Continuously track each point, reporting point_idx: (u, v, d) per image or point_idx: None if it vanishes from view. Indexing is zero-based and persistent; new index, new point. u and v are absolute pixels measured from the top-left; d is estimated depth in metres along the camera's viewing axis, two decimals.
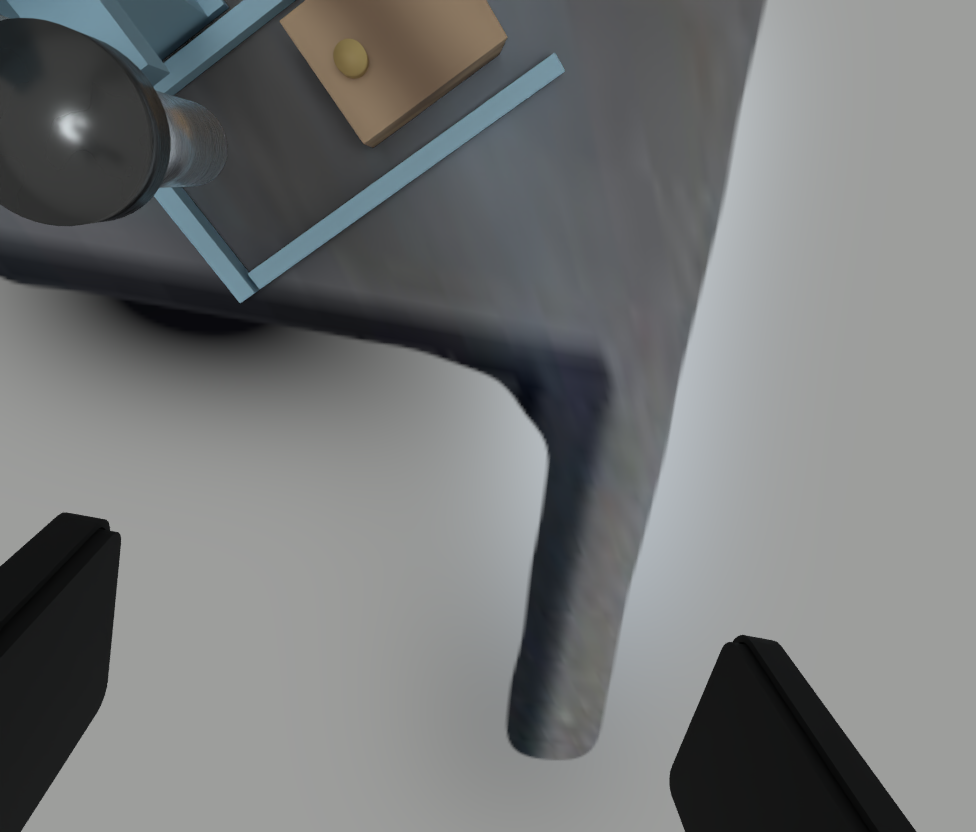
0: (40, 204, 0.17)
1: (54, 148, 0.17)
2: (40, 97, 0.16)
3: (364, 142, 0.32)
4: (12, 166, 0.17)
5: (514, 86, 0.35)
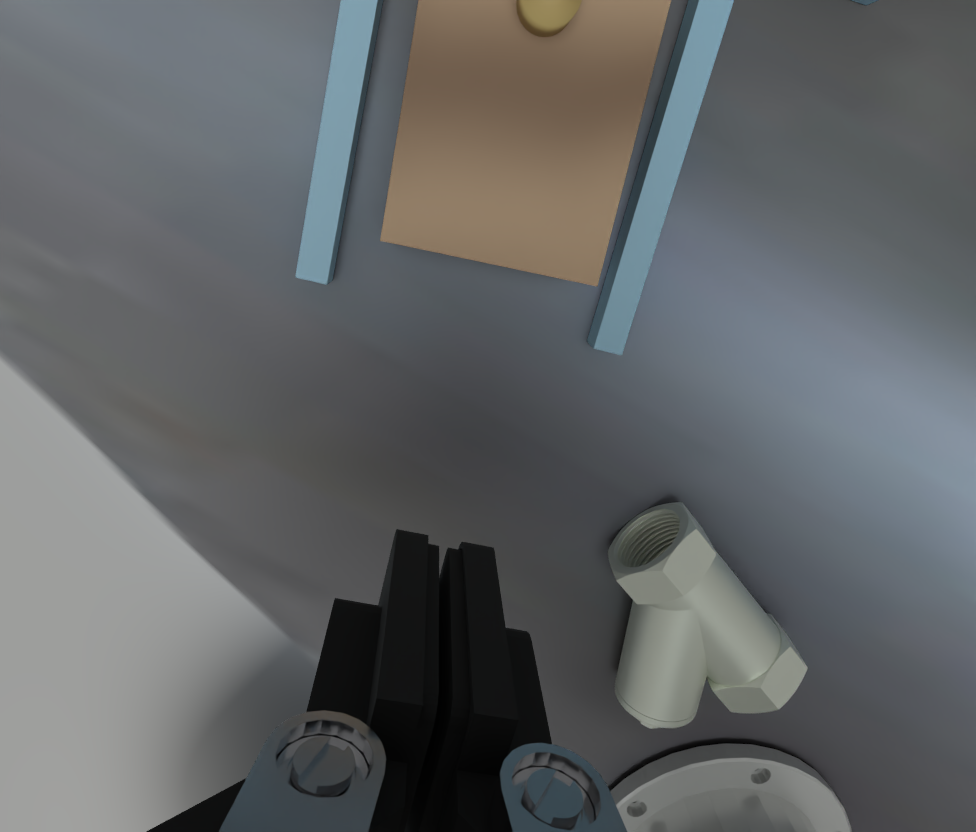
0: None
1: None
2: None
3: None
4: None
5: (334, 203, 0.21)
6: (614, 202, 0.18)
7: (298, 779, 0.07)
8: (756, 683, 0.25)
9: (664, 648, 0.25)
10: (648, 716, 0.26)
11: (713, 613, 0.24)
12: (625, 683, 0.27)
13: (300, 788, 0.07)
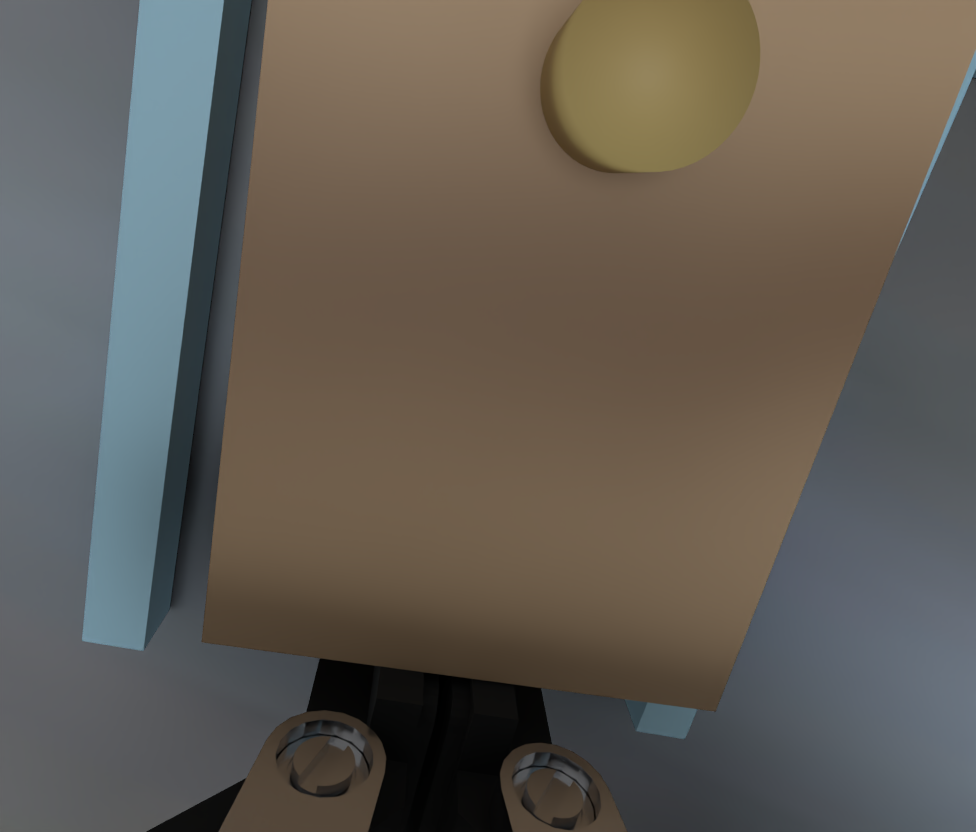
0: None
1: None
2: None
3: None
4: None
5: (147, 518, 0.11)
6: (769, 550, 0.08)
7: (298, 779, 0.07)
8: None
9: None
10: None
11: None
12: None
13: (300, 788, 0.07)
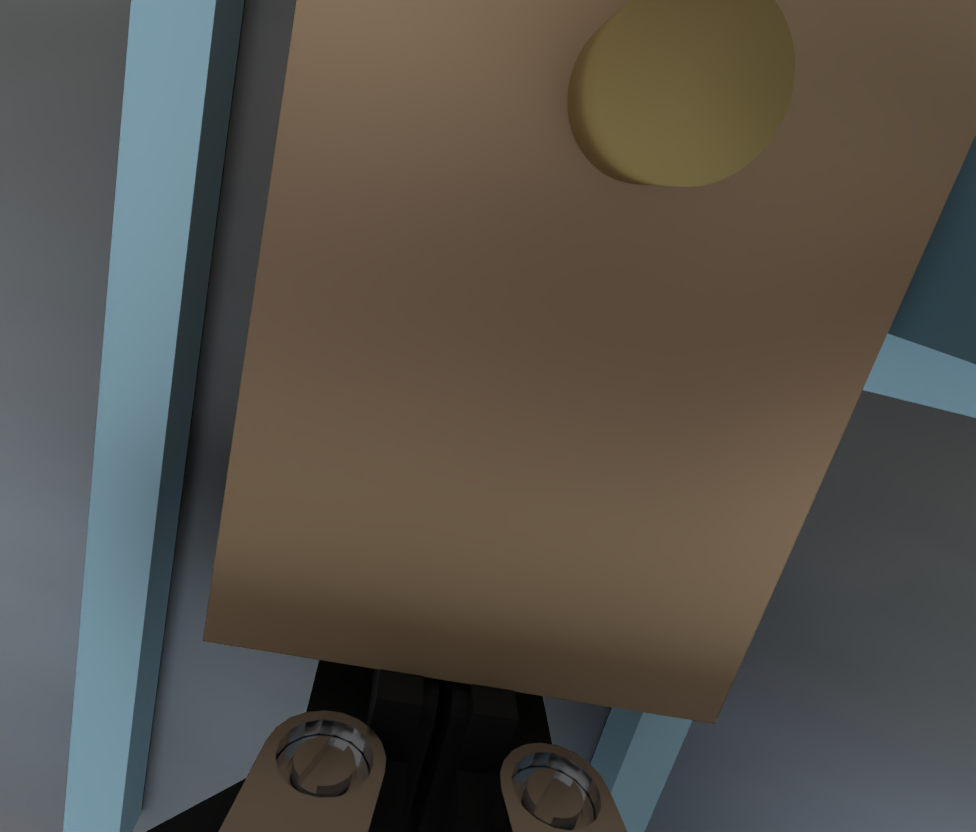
0: None
1: None
2: None
3: None
4: None
5: (116, 764, 0.12)
6: (775, 565, 0.08)
7: (298, 779, 0.07)
8: None
9: None
10: None
11: None
12: None
13: (300, 788, 0.07)
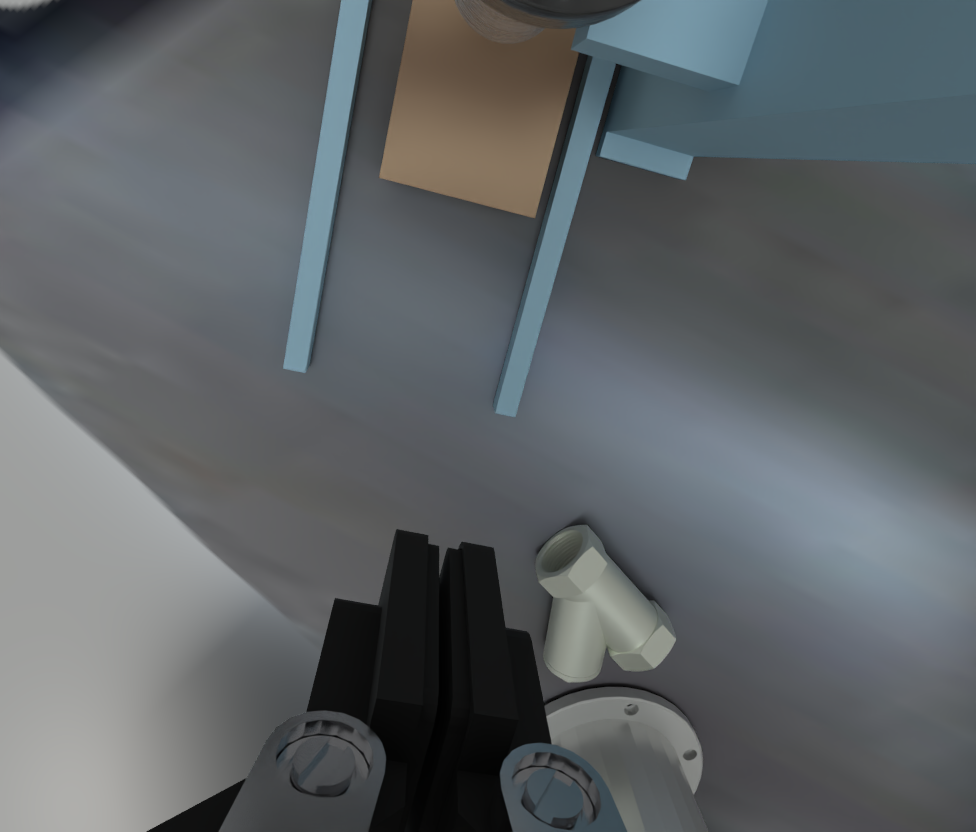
0: None
1: None
2: None
3: None
4: None
5: (310, 319, 0.31)
6: (547, 157, 0.25)
7: (298, 779, 0.07)
8: (637, 650, 0.36)
9: (573, 628, 0.36)
10: (564, 674, 0.37)
11: (605, 603, 0.35)
12: (549, 651, 0.37)
13: (300, 788, 0.07)
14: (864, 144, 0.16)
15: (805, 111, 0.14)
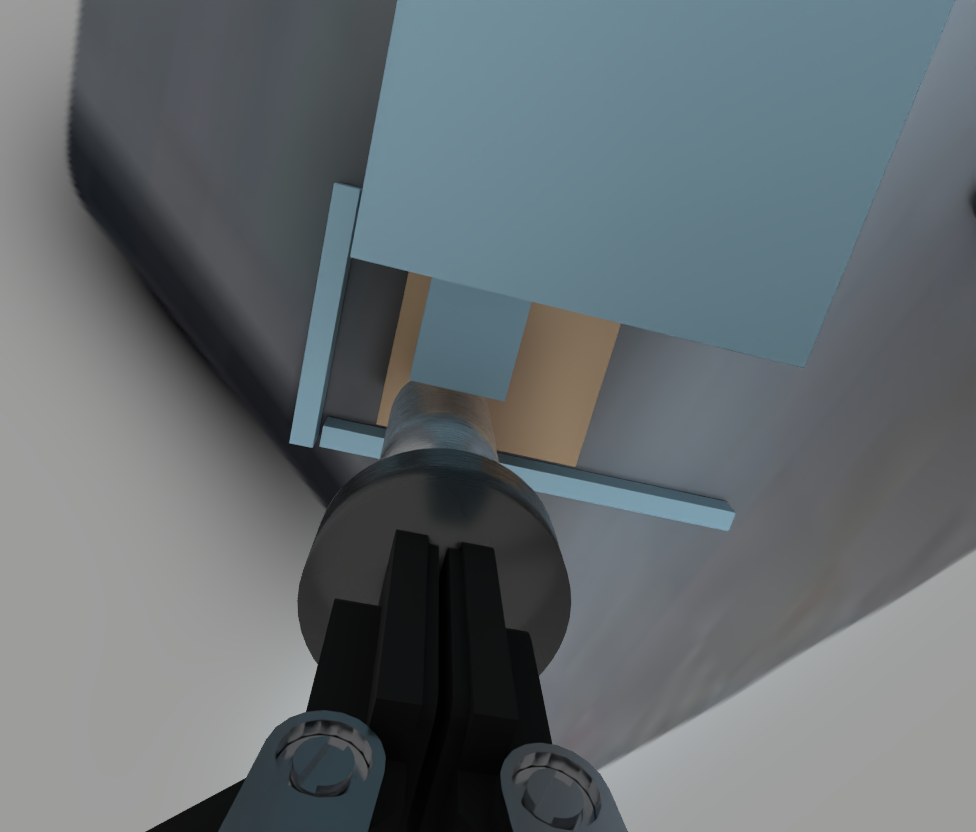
0: None
1: None
2: None
3: (378, 423, 0.26)
4: None
5: (684, 505, 0.32)
6: (563, 311, 0.25)
7: (298, 779, 0.06)
8: None
9: None
10: None
11: None
12: None
13: (300, 788, 0.06)
14: None
15: None
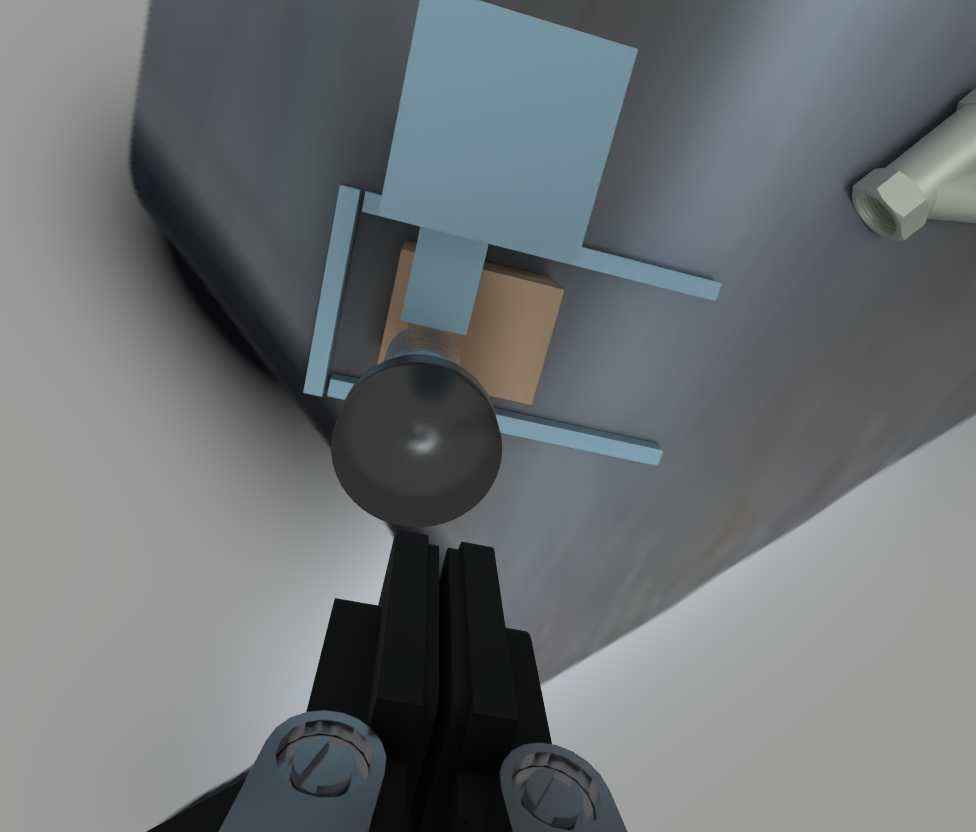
0: (357, 480, 0.19)
1: (407, 465, 0.19)
2: (434, 435, 0.19)
3: None
4: (367, 448, 0.18)
5: (621, 444, 0.40)
6: (520, 281, 0.33)
7: (298, 779, 0.07)
8: None
9: (965, 203, 0.35)
10: None
11: (945, 172, 0.34)
12: None
13: (300, 788, 0.07)
14: None
15: None
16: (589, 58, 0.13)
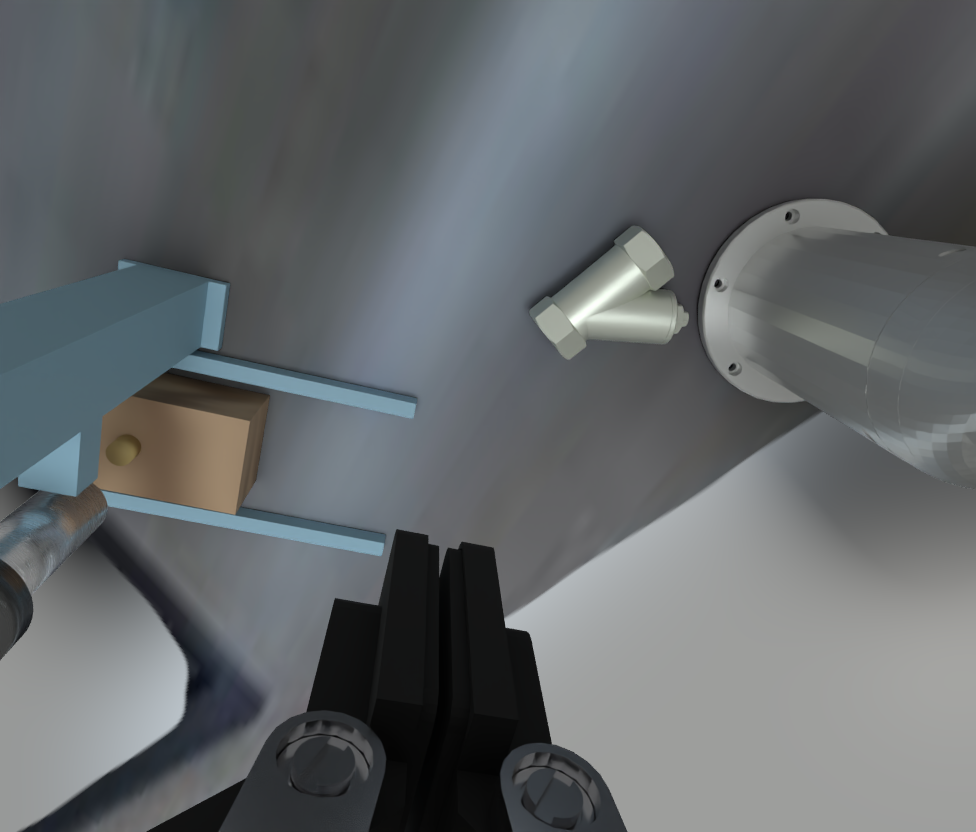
0: None
1: None
2: None
3: None
4: None
5: (346, 538, 0.45)
6: (208, 414, 0.38)
7: (298, 779, 0.07)
8: (643, 273, 0.39)
9: (615, 330, 0.40)
10: (667, 334, 0.41)
11: (590, 306, 0.39)
12: None
13: (300, 788, 0.07)
14: (79, 377, 0.26)
15: (53, 449, 0.25)
16: None
